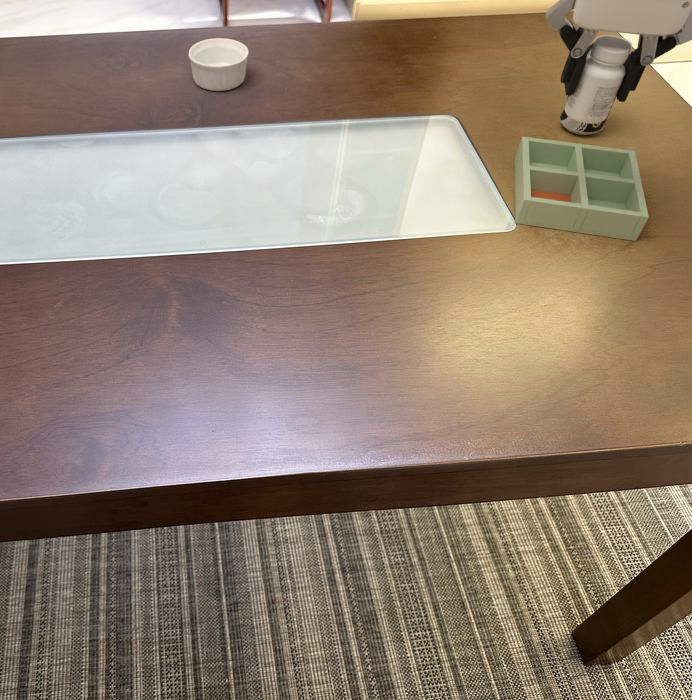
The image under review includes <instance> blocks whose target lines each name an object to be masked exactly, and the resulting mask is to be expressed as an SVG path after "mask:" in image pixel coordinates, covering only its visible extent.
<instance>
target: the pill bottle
mask: <svg viewBox="0 0 692 700" xmlns="http://www.w3.org/2000/svg"><path fill="white" fill-rule="evenodd" d="M593 43H594V42H593ZM630 50H631V51H632V49H631V45H630V44H629V43H628V42H626V41H624V40H622V39H620V38H615V37H601V38H598V39H597V40H596V41H595V43H594V45H593V48H592V50H591V53H590V58H588V59H586V64H585V67H584V69H583V72H582V74H581V77H580V80H579V82H578V85H577V87H576V90H575V92H574V95H571V96H569V97H568V96H567V98H568V100H567V99H566V100H567V103H566V102H565V103H566V106H565V112H566V114H567V115H568V116H569V117H570V118H572V119H574V120H576V121H579V122H582V123H588V124H594V123H599V122H602V121H603V120H605V119H606V118H607V119H608V117H609V115H608V113H609V111H610V112H611V110H612V108H611V106H612V104H613V105H614V103H615V101H616V99H615V97H616V98H617V96H616V95H617V93H618V90H619V88H620V86H621V83H622V81H623V79H624V76H625V73H626V70H625V67H624V65H623V64H624V63H625V61H626V60H627V58H628V55H629V53H630ZM614 100H615V101H614ZM613 102H614V103H613ZM612 107H613V106H612ZM610 109H611V110H610ZM609 114H610V113H609ZM607 116H608V117H607Z"/></svg>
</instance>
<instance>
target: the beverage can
mask: <svg viewBox="0 0 692 700" xmlns="http://www.w3.org/2000/svg"><path fill="white" fill-rule="evenodd" d="M601 37H615V38H620V39H622V40H624V41H626V42H628V43H629V44H630V45H631V50H630V53H629V54H631V52H632V49H633V43H632V42H631V41H630V40H629V39H627V38H625V37H623V36H619V35H615V34H602V35H598V36H595V37H594V39H593V40H594V41H593V42H592V43H591V44H590V45H589V47H588V48H587V50H586V54H585V55H586V59H588V58H590V53H591V50H592V48H593V45H594V43H595V41H596V40H597V39H598V38H601ZM625 62H626V61H625ZM624 64H625V63H624ZM624 64H623V65H624ZM568 97H569V96H568V95H567V98H566V100H565V103H564V106H563V108H562V111H561V113H560V116H559V122H560V124H561V125H562V127H564V128H565V130H567V131H568V132H570V133H572V134H575V135H580V136H588V135H593V134H597V133H599V132H601V131H602V130H603V128H604V127H605V124H606V121H607V119H608V118H609V115H610V113H611V110H612V108H613V106H614V103H615V101H616V100H617V96H616V97H615V100H614V102H613V104H612V106H611V109H610V111H609V113H608V116H607V118H606V119H605V120H603V121H602V122H599V123H594V124H588V123H582V122H579V121H576V120H574V119H572V118H570V117H569V116H568V115H567V114H566V112H565V106H566V103H567V100H568Z"/></svg>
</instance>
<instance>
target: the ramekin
mask: <svg viewBox="0 0 692 700" xmlns="http://www.w3.org/2000/svg"><path fill="white" fill-rule="evenodd" d="M249 53H250V51H249V48H248V47H247V45H245V44H244V43H242V42H241V41H238V40H235V39H231V38H224V37H223V38H222V37H220V38H217V37H215V38H207V39H204V40H201V41H198V42H196V43H194V44H193V45H192V46H191V47H190V48H189V50H188V59H189V61H190V66H191V74H192V79H193V82H194V83H195V84H196V85H197V86H198V87H199V88H202V89H204V90H206V91H207V90H208V91H211V92H226V91H231V90H233V89H235V88H237V87H239V86H240V85H242V84H243V82H244V81H245V79H246V73H247V65H248V63H247V62H248V58H249Z"/></svg>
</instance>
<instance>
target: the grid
mask: <svg viewBox="0 0 692 700" xmlns="http://www.w3.org/2000/svg"><path fill="white" fill-rule="evenodd" d="M648 211H649V210H648V208H647V202H646V198H645V192H644V188H643V183H642V178H641V173H640V168H639V164H638V159H637V153H636V150H631V149H625V148H624V149H623V148H616V147H607V146H601V145H600V146H599V145H593V144H592V145H591V144H584V143H575V142H570V141H569V142H568V141H560V140H554V139H553V140H552V139H545V138H537V137H529V136H521V139H520V142H519V145H518V148H517V151H516V154H515V157H514V213H515V214H514V215H515V216H514V217H515V219H514V221H515V224H518V225H525V226H529V227H530V226H531V227H538V228H546V229H550V230H551V229H552V230H559V231H565V232H572V233H577V234H585V235H593V236H598V237H599V236H600V237H606V238H612V239H619V240H626V241H634V242H636V241H637V240H638V238H639V237H640V235H641V233H642V230H643V229H644V227H645V225H646V224H647V221H648V220H649V218H650V217H649V212H648Z"/></svg>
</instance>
